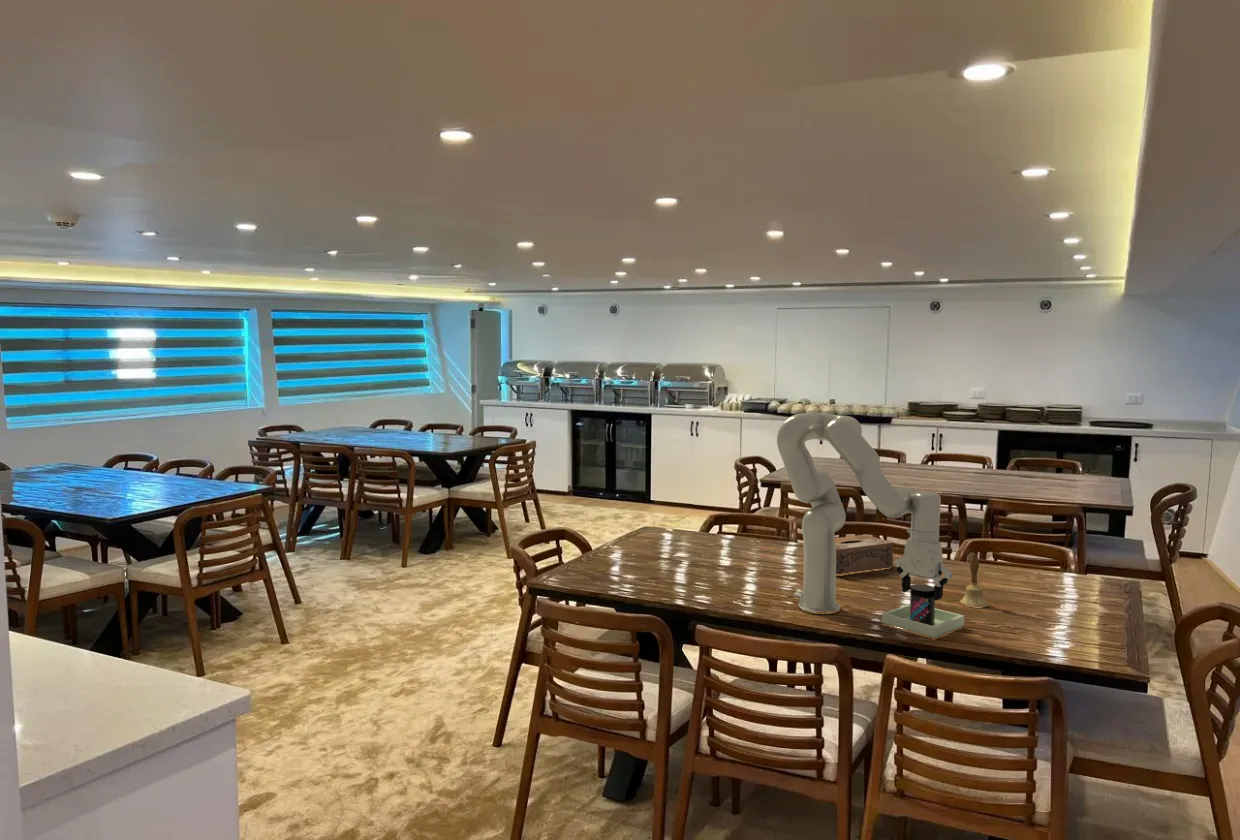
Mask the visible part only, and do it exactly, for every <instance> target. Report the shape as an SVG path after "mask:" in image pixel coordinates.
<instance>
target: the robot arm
mask: <svg viewBox="0 0 1240 840" xmlns="http://www.w3.org/2000/svg"><path fill="white" fill-rule="evenodd" d="M862 429H863V428H862V425H861V424H860V422H859V421H858V420H857V419H856V418H854V417H852V416H849V415H843V414H841V415H840V414H831V413H823V412H819V411H818V412H817V411H808V412H801V413H796V414H794V415H791V416H789V417H788V418H787V419H786V420H785V421H784V422H783V423H782V424H781V426H780V427H779V429H778V431H777V435H776V444H777V449H778V452H779V454H780V457H781V459H782V463H783V465H784V468H785V471H786V474H787V476H788V479H789V481H790V485H791V488H792V490H793V491H792V492H793V493H794V496H795V498H797V500H798V501H799V502H801V503H805V504H810V505H811V508H809V509H808V510H807V511H806V512H805V513H804V515H803V517H802V522H801V530H802V538H803V585H802V586H803V588H802V589H803V590H802V589H798V588H796V590H795V592H794V594H793V596H794V598H799V599H800V601H798V603H797V607H798V606H799V607H800V608H801V609H803V610H807V611H812V612H824V613H826V612H834V611H838V610H839V609H840V608H841V605H840V604H839V603H837V602H836V594H837V593H836V591H837V590H836V589H837V588H836V587H837V586H836V585H837V583H836V582H837V577H836V544H835V533H836V532H838V531H840V530H841V529H842V528H843V526H844V525H845V523H846V519H847V518H846V512H845V511H846V510H845V507H844V505H843V503H842V501H841V498H840V495H839V492H838V489H837V486H836V484H835V481H834V479H833V478H832V477H831V475H830V474H829V473H828V472H827V471H825V470H823V469H821V468H820V469H819V468H816V466H815V463H814V460H813V458H812V455H811V453H810V451H809V450H808V448H807V446H806V442H807V441H811V440H820V441H827V442H828V443H829V444H830V445H831V446H832V448H833V449H834V450H835V451H836V452H837V454H839V456H840V457H841V458H842V460H843V461H844V462H845V463H846V464H847V465H848V467H849V468H850V469H851V470H852V472H853V473H854V475H855V478H856V480H857V481H858V483H859V485H860V487H861V489H862V491H863V492H864V494H865V495H866V497H867V498H868V499H869V500H870V502H871V503H872V504H873V505H874V506H875V507H876V509H877V510H878V511H879V512H880V513H881V514H882V515H884V516H885V517H887V518H890V519H896V518H900V517H902V516H903V515H907V514H911V515H910V516H911V517H910V520H911V521H910V528H909V527H908V528H907V529H906V533H907V534H909V537H908V538H907V539H906V542H905V545H904V550H903V551H904V552H903V557H901V558H898V559H897V558H896V559H895V560H894V564H895V567H896V570H897V572H898V573H899V576H900V578H901V588H902V589H901V591H902V593H903V592H904V593H906V592H908V591H909V592H910V586H911V585H912V584H911V580H912V577H911V576H910V575H912V576H915V577H920V578H924V579H928V580H933V582H934V583H935V585H934V586H933V587H934V600H935V601H938V600H941V599H942V598H943V595H944V586H945V585H946V584H948V583H949V582H950V580H951V579H952V577H953V575H954V572H953V571H951V570H950V569H949V568H948V567H946V566H945V565H944V562H943V561H944V560H943V559H944V557H943V548H942V544H941V543H942V542H940V541H939V539H940V526H941V525H940V522H941V521H940V520H941V502H942V501H941V500H942V499H941V498H942V497H941V495H940V494H939V493H937V492H934V491H925V490H923V491H922V490H921V491H919V490H914V489H911V488H907V487H896V488H894V486H892V484H891V483H890V482H889V481H888V479H887V477H886V476H885V475H884V473H883V470H882V468H881V464H880V457H879V454H878V453H877V451H876V450H875V449H874V448H873V447H872V445H870V443H869V442H868V441H867V440H866V438H864V436H862V433H863V430H862ZM943 574H944V577H943Z"/></svg>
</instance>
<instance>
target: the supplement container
mask: <svg viewBox="0 0 1240 840" xmlns="http://www.w3.org/2000/svg"><path fill="white" fill-rule="evenodd" d="M909 594H910V595H909V604H910V620H912V621H916V622H920V623H924V624H927V625H931V626H933V625H934V623H935V608H936V600H934V586H932V585H927V584H911V585H910V590H909Z"/></svg>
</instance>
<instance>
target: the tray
mask: <svg viewBox="0 0 1240 840" xmlns="http://www.w3.org/2000/svg"><path fill="white" fill-rule="evenodd" d="M902 617H905V618H902ZM882 622H883V623H886V624H889V625H893V626H896V627H900V628H903V629H907V630H910V631H913V632H917V633H919V634H923V635H926V636H929V637H932V638H934V639H935V638H937V637H939V636H941V635H944V634H946V633H948V632H951V631H953V630H956V629H958V628H960V627H962V626H964V627H965V615H963V614H959V613H957V612H956V613H955V612H953V611H948V610H942V609H939V608H936V607H935V623H934V625H933V626H931V625H927V624H924V623H920V622H916V621H912V620H910V603H908V604H905V605H903V606H900V607H896V608H894V609H891V610H888V611H886V612H883V613H882V615H881V623H882Z"/></svg>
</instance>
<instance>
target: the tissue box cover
mask: <svg viewBox="0 0 1240 840" xmlns="http://www.w3.org/2000/svg"><path fill="white" fill-rule="evenodd" d="M835 544H836V574H842V573H849V572H857V571H864V570H865V571H866V570H873V569H882V568H889V567H894V565H893V563H894V561H893V559H894V558H893V557H894V542H891V541H888V540H886V539H883V538H882V539H881V538H878V537H875V536H872V535H868V534H859V535H852V536H844V537H843V536H841V537H836V538H835Z"/></svg>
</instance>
